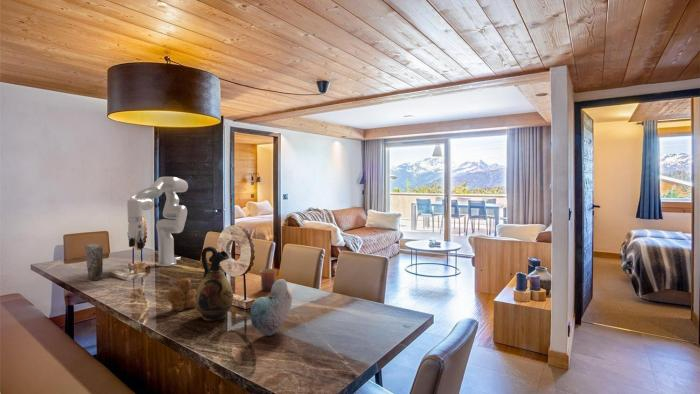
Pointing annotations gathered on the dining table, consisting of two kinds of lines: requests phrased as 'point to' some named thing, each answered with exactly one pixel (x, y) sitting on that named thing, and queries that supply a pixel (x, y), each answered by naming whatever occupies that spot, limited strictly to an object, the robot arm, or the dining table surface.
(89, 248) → the stone block
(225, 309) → the ceramic jug
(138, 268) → the marking gauge
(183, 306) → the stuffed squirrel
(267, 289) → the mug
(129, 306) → the dining table surface
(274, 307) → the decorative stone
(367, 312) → the dining table surface
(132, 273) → the birch board
